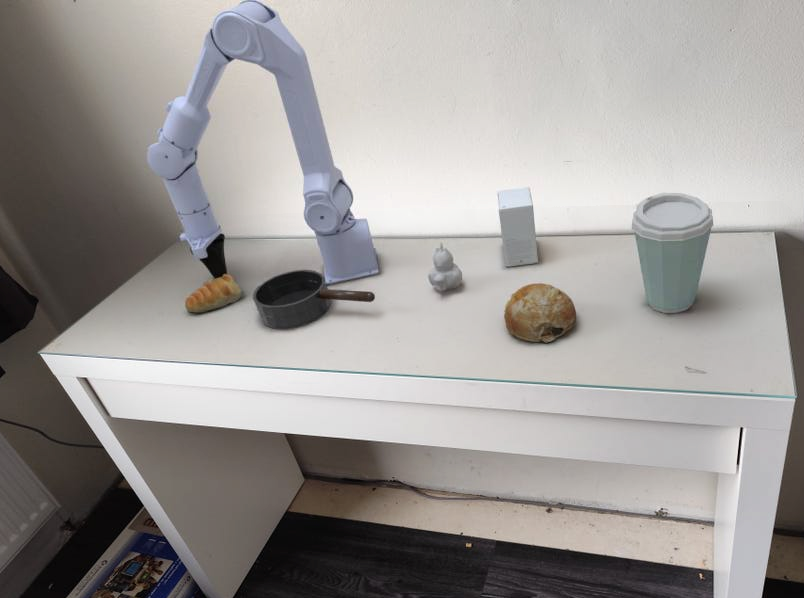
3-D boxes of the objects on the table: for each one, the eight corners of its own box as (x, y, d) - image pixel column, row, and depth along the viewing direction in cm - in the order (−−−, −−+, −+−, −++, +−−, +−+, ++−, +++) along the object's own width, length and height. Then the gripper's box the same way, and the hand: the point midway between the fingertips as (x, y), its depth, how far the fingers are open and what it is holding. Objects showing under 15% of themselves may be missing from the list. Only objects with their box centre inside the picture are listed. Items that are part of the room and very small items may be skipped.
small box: (538, 264, 112) (533, 205, 106) (505, 268, 112) (498, 209, 106) (535, 242, 118) (530, 186, 112) (503, 246, 119) (497, 190, 113)
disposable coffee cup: (724, 303, 95) (734, 204, 86) (667, 332, 91) (672, 232, 83) (669, 276, 103) (673, 183, 94) (615, 302, 99) (614, 208, 90)
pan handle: (317, 300, 107) (315, 292, 106) (322, 295, 108) (320, 286, 107) (373, 304, 104) (371, 295, 103) (377, 298, 105) (375, 290, 104)
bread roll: (523, 367, 96) (532, 336, 89) (488, 314, 100) (494, 280, 93) (580, 341, 98) (593, 310, 92) (544, 291, 103) (553, 257, 96)
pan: (330, 285, 116) (324, 264, 114) (332, 319, 107) (325, 297, 104) (263, 299, 116) (255, 278, 113) (258, 336, 106) (250, 313, 104)
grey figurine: (468, 278, 111) (461, 235, 107) (456, 299, 106) (449, 255, 102) (437, 278, 113) (429, 235, 108) (425, 298, 108) (416, 254, 103)
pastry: (195, 320, 113) (186, 301, 111) (182, 307, 118) (173, 288, 115) (246, 297, 117) (239, 278, 115) (231, 285, 122) (224, 267, 120)
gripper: (177, 197, 121) (204, 263, 129) (162, 229, 109) (193, 300, 117) (216, 189, 121) (241, 256, 129) (205, 220, 109) (234, 291, 117)
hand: (221, 276), depth 123 cm, fingers closed
